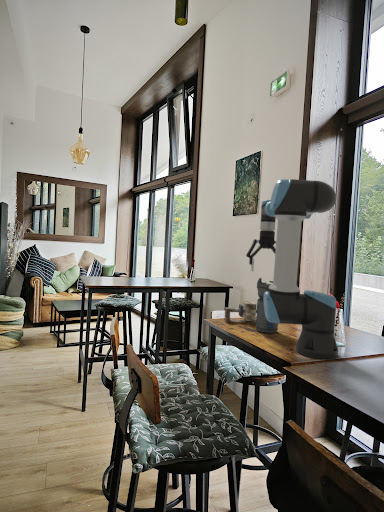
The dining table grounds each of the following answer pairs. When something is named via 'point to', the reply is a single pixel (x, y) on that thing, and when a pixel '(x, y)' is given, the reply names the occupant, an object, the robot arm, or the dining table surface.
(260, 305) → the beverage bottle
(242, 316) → the dark grey flat block
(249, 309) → the sleeve
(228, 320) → the pipe stand
